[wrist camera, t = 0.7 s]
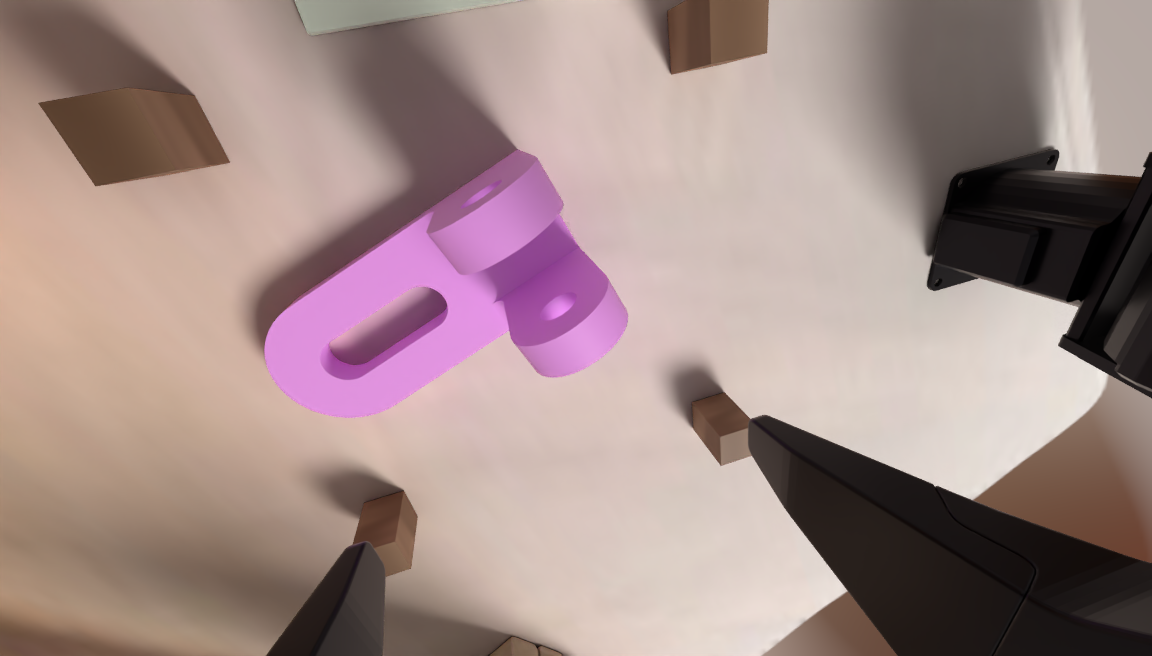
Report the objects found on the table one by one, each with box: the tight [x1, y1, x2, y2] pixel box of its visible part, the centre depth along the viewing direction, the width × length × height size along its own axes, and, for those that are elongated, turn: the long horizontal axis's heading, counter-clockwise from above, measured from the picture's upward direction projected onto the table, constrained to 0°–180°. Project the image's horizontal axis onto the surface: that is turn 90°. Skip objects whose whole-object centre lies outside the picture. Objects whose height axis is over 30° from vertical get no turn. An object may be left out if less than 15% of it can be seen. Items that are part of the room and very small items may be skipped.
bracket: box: [264, 149, 628, 418], centre depth 15 cm, size 13×6×7 cm, turn 121°
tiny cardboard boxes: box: [39, 0, 769, 577], centre depth 17 cm, size 20×20×3 cm
